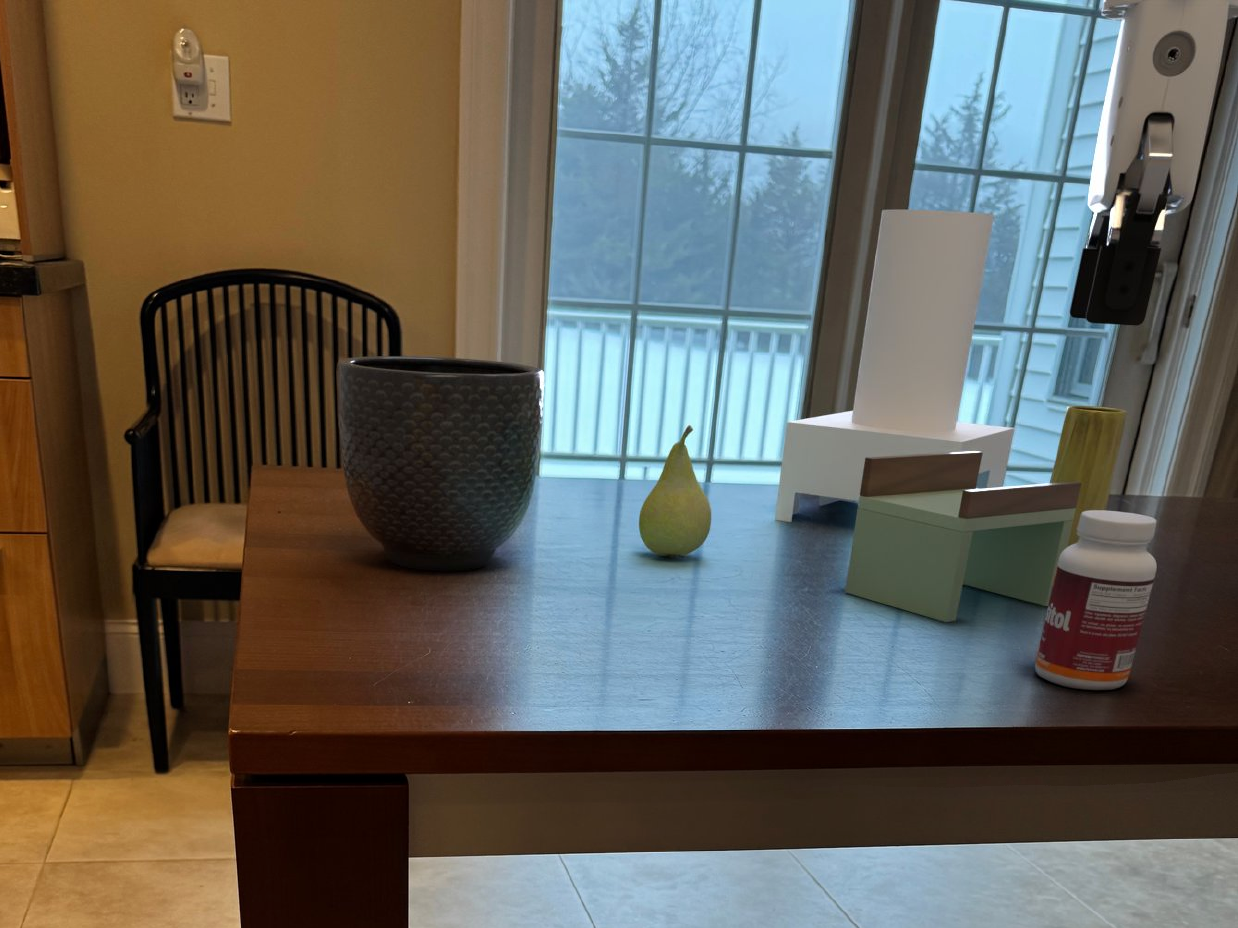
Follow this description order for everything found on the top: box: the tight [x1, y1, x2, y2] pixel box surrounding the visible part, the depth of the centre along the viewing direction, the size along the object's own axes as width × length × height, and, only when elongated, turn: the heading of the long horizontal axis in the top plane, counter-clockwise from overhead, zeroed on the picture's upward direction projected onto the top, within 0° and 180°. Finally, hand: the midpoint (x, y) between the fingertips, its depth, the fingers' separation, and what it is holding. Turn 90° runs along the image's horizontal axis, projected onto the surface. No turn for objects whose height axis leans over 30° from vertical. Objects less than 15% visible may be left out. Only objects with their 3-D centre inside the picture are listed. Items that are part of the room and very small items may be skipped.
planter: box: [336, 355, 546, 572], centre depth 110 cm, size 17×17×16 cm
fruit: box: [638, 424, 712, 559], centre depth 117 cm, size 7×8×12 cm
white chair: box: [774, 209, 1015, 523], centre depth 136 cm, size 19×19×30 cm
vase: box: [1049, 405, 1128, 547], centre depth 122 cm, size 6×6×14 cm
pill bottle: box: [1034, 510, 1157, 691], centre depth 87 cm, size 6×6×11 cm
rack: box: [844, 451, 1082, 623], centre depth 108 cm, size 11×14×11 cm
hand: (1103, 321), depth 80 cm, fingers open, 9 cm apart
